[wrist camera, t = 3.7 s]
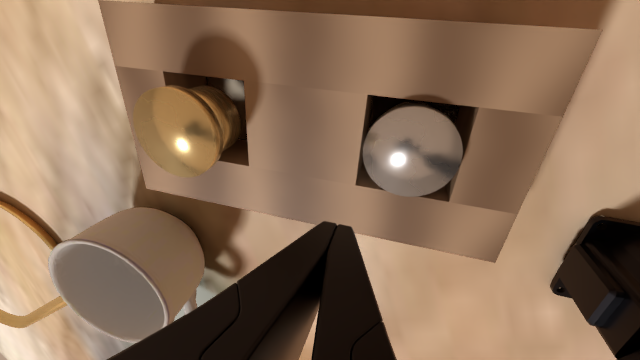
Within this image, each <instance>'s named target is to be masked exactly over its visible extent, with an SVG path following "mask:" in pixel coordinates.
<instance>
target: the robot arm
mask: <svg viewBox="0 0 640 360" xmlns="http://www.w3.org/2000/svg"><path fill="white" fill-rule="evenodd" d="M601 223H603V224H602V225H601V226H597V225H598V224H601ZM560 287H562V288H560ZM550 288H551V290H552V291H553V293H554V294H556V295H560V296H564V297H568V298H573V300H574V302H575V303H576V305H577V306H578V308H579V310H580V311H581V313H582V314H583V316H584V318H585V319H586V321H587V322H588V323H589V324H590V325H592V326H596V328H597V330H598V331H599V333H600V334H601V336H602V337H603V339H604V340H605V342H606V344H607V345H608V347H609V348H610V350H611V351H612V353H613V354H614V356H615V357H616V358H617V360H640V223H638V222H632V221H626V220H621V219H615V218H609V217H603V216H597V217H594V218H592V219H591V220H590V221H589V222H588V224H587V225H586V227H585V228H584V230H583V232H582V233H581V235H580V237H579V238H578V240H577V242H576V243H575V245H573V246H572V248H571V250H570V251H569V253H568V255H567V256H566V258H565V259H564V261H563V263H562V264H561V266H560V268H559V269H558V271H557V274H556V276H555V278H554V279H553V281H552V282H551V284H550ZM318 309H319V311H318ZM317 311H318V318H317V325H316V332H315V339H314V346H313V352H312V359H311V360H397V359H396V357H395V354H394V351H393V348H392V346H391V343H390V340H389V337H388V334H387V331H386V328H385V325H384V323H383V322H382V321H383V320H382V316H381V313H380V310H379V307H378V304H377V301H376V298H375V295H374V292H373V289H372V286H371V283H370V280H369V277H368V274H367V271H366V267H365V264H364V261H363V258H362V255H361V252H360V249H359V246H358V243H357V240H356V237H355V234H354V231H353V228H352V227H351V226H347V225H342V224H339V225H338V226H337V224H336V223H333V222H328V221H323V222H321V223H320V224H318V225H317V226H315V227H314V228H313V229H311V230H310V231H308V232H307V233H305V234H304V235H303V236H301V237H300V238H298V239H297V240H295V241H294V242H293V243H291V244H290V245H288V246H287V247H285V248H284V249H283V250H281V251H280V252H278V253H277V254H275V255H274V256H273V257H271V258H270V259H268V260H267V261H265V262H264V263H263V264H261V265H260V266H258V267H257V268H255V269H254V270H253V271H251V272H250V273H248V274H247V275H245V276H244V277H243V278H241V279H240V280H238V281H237V283H234V284H232V285H231V286H229V287H228V288H227V289H225V290H224V291H222V292H221V293H219V294H218V295H216V296H215V297H213V298H212V299H210V300H209V301H207V302H206V303H204V304H203V305H201V306H199V307H198V308H196V309H194V310H193V311H191V312H189V313H188V314H186V315H184V316H183V317H181V318H179V319H178V320H176V321H174V322H172V323H171V324H169V325H167V326H165V327H164V328H162V329H160V330H158V331H156V332H155V333H153V334H151V335H149V336H148V337H146V338H144V339H142V340H141V341H139V342H137V343H135V344H134V345H132V346H130V347H128V348H127V349H125V350H123V351H121V352H120V353H118V354H116V355H114V356H112V357H110V358H109V359H107V360H299V357H300V354H301V352H302V349H303V347H304V344H305V342H306V339H307V337H308V334H309V332H310V329H311V327H312V324H313V321H314V319H315V316H316V314H317Z"/></svg>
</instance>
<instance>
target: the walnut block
mask: <svg viewBox="0 0 640 360" xmlns="http://www.w3.org/2000/svg"><path fill="white" fill-rule="evenodd" d="M98 1H99V5H100V9H101V13H102V17H103V21H104V25H105V29H106V33H107V37H108V41H109V44H110V48H111V52H112V56H113V60H114V64H115V68H116V72H117V76H118V80H119V83H120V87H121V91H122V95H123V99H124V103H125V107H126V111H127V115H128V119H129V123H130V126H131V130H132V134H133V138H134V142H135V146H136V150H137V154H138V158H139V162H140V166H141V169H142V173H143V177H144V181H145V185H146V189H151V190H156V191H160V192H165V193H170V194H174V195H179V196H184V197H188V198H193V199H198V200H203V201H207V202H212V203H217V204H221V205H226V206H231V207H235V208H240V209H245V210H250V211H254V212H259V213H264V214H268V215H273V216H278V217H282V218H287V219H292V220H297V221H301V222H306V223H311V224H315V225H318V224H320V223H321V222H323V221H328V222H333V223H336V224H337V226H338V225H339V224H342V225H347V226H351V227H352V228H353V231H354V233H358V234H362V235H367V236H372V237H376V238H381V239H386V240H390V241H395V242H400V243H405V244H409V245H414V246H419V247H423V248H428V249H433V250H437V251H442V252H447V253H452V254H456V255H461V256H466V257H470V258H475V259H480V260H484V261H489V262H494V263H495V262H496V260H497V258H498V255H499V253H500V251H501V249H502V247H503V245H504V242H505V240H506V238H507V236H508V234H509V232H510V229H511V227H512V225H513V223H514V221H515V219H516V216H517V214H518V212H519V210H520V208H521V206H522V203H523V201H524V199H525V197H526V195H527V193H528V190H529V188H530V186H531V184H532V182H533V180H534V177H535V175H536V173H537V171H538V169H539V167H540V165H541V162H542V160H543V158H544V156H545V154H546V152H547V149H548V147H549V145H550V143H551V141H552V139H553V136H554V134H555V132H556V130H557V128H558V126H559V123H560V121H561V119H562V117H563V115H564V113H565V110H566V108H567V106H568V104H569V102H570V100H571V97H572V95H573V93H574V91H575V89H576V87H577V84H578V82H579V80H580V78H581V76H582V74H583V71H584V69H585V67H586V65H587V63H588V61H589V58H590V56H591V54H592V52H593V50H594V48H595V45H596V43H597V41H598V39H599V37H600V35H601V32H602V30H598V29H581V28H564V27H547V26H530V25H513V24H496V23H479V22H462V21H445V20H428V19H411V18H393V17H376V16H359V15H342V14H325V13H308V12H291V11H274V10H257V9H240V8H223V7H206V6H188V5H171V4H154V3H137V2H120V1H103V0H98ZM206 76H209V77H217V78H226V79H235V80H244V92H245V109H246V125H247V141H245V140H239V139H237V141H236V142H235V143H234V144H233V145H232V146H230V147H229V148H227V149H226V150H224V151H223V152H222V154H221V156H220V158H219V160H218V162H217V163H216V164H215V165H214V166H213V167H211V168H210V169H208V170H207V171H205V172H204V173H202V174H201V175H199V176H196V177H180V176H176V175H173V174H171V173H169V172H167V171H165V170H164V169H162V168H161V167H159V166H158V165H157V164H156V163H155V162H154V161H152V159H151V158H150V157H149V156H148V155H147V154H146V152H145V151H144V149H143V148H142V146H141V144H140V142H139V140H138V138H137V136H136V132H135V129H134V124H133V112H134V107H135V104H136V102H137V100H138V98H139V97H140V96H141V95H142V94H143V93H144V92H146V91H148V90H150V89H154V88H158V87H163V86H169V85H175V86H181V87H184V88H187V89H190V88H193V87H197V86H203V85H205V86H207V84H206ZM373 95H376V96H384V97H393V98H402V99H411V100H420V101H428V102H437V103H446V104H455V105H461V106H460V110H459V113H458V117H457V120H456V123H455V127H456V129H457V131H458V133H459V135H460V138H461V141H462V147H463V154H462V160H461V164H460V166H459V169H458V170H457V172H456V174H455V175H454V177H453V178H452V179H451V180H450V181H449V182H448V183H447V184H446V185H444V186H443V187H442V188H440V189H438V190H437V191H435V192H432V193H430V194H427V195H422V196H416V197H406V196H400V195H395V194H393V193H390V192H388V191H386V190H384V189H383V188H381V187H380V186H378V185H377V184H376V183H375V182H374V181H373V180H372V179H371V177H370V176H369V174H368V172H367V170H366V168H365V165H364V161H363V146H364V142H365V139H366V136H367V134H368V129H369V122H370V115H371V108H372V101H373Z"/></svg>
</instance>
